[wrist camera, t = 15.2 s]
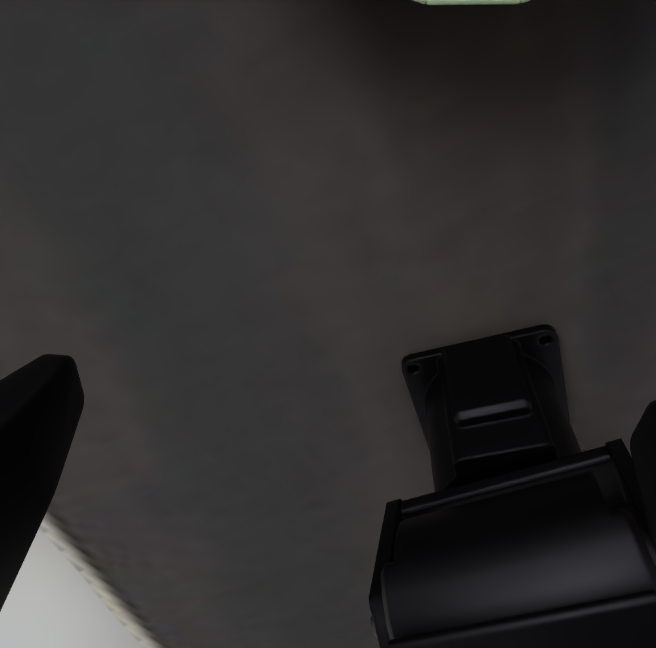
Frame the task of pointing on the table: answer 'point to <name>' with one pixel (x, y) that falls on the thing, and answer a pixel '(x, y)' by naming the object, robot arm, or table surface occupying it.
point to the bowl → (470, 2)
